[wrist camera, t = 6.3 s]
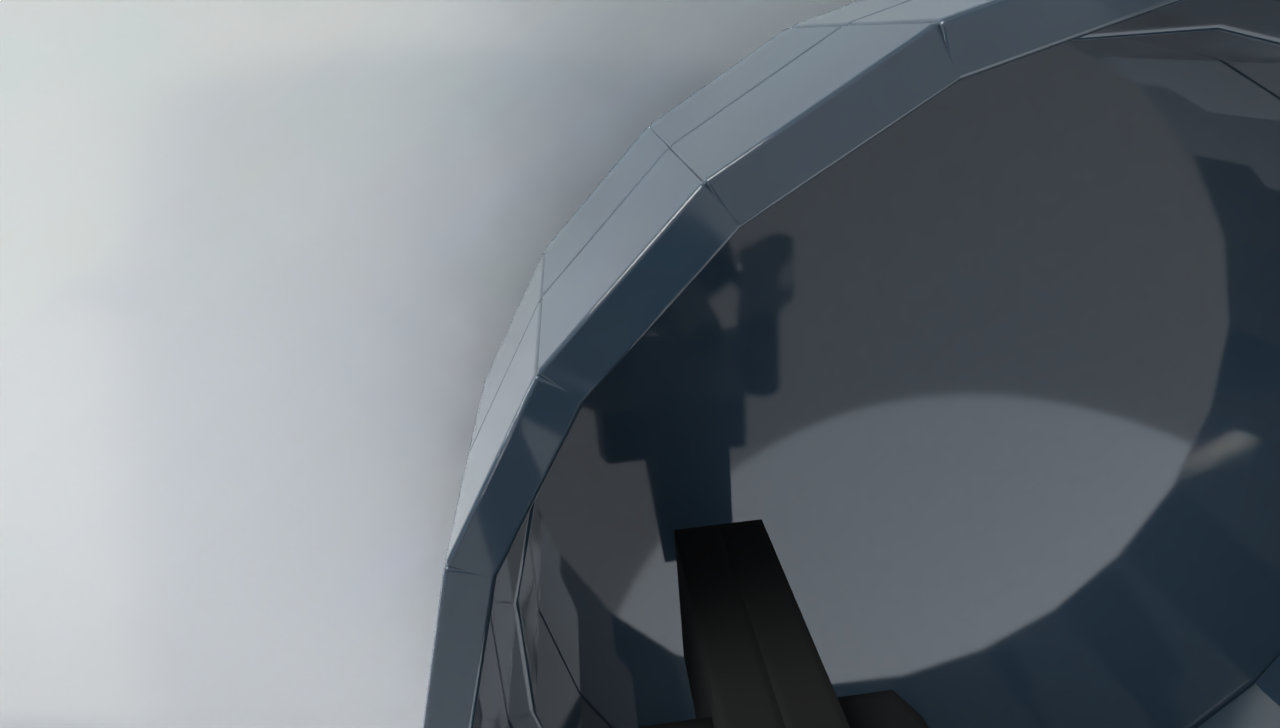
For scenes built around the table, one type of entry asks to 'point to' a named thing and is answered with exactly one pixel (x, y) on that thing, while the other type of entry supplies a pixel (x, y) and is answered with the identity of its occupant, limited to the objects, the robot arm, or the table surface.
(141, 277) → the table surface
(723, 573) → the robot arm
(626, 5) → the table surface
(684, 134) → the bowl
